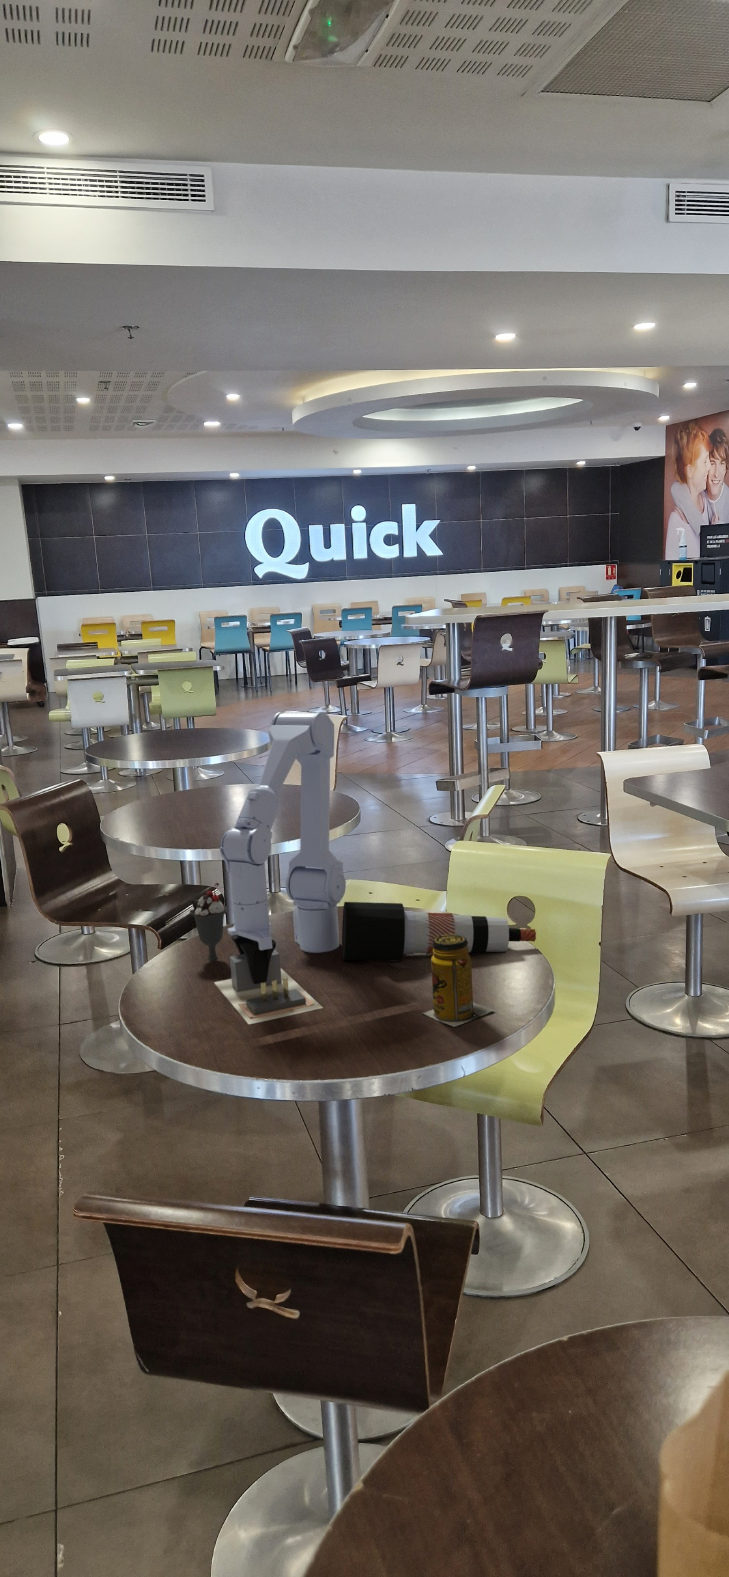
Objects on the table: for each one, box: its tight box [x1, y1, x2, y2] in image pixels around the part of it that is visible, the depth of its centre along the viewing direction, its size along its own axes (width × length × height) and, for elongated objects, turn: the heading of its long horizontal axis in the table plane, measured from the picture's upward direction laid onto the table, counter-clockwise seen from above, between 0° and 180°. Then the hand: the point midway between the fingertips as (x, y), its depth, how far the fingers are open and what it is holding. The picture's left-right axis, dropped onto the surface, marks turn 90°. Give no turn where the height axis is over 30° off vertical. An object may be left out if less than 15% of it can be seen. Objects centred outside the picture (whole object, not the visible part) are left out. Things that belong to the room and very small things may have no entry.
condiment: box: [422, 935, 495, 1027], centre depth 153 cm, size 7×8×12 cm
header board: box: [213, 968, 324, 1025], centre depth 163 cm, size 20×12×5 cm, turn 24°
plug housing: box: [229, 948, 282, 992], centre depth 167 cm, size 3×8×5 cm, turn 114°
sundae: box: [189, 882, 228, 962], centre depth 180 cm, size 7×7×15 cm
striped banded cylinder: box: [341, 901, 537, 962], centre depth 179 cm, size 10×34×10 cm, turn 94°
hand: (256, 978), depth 167 cm, fingers closed on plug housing, 3 cm apart
